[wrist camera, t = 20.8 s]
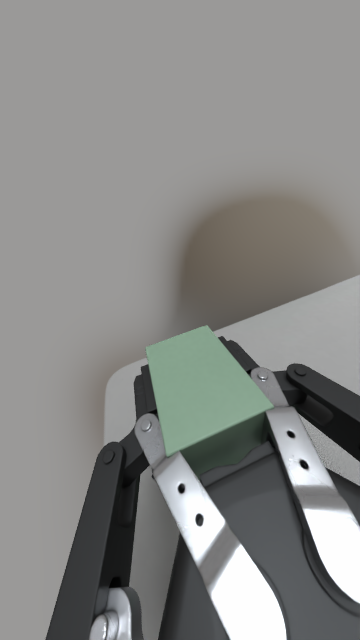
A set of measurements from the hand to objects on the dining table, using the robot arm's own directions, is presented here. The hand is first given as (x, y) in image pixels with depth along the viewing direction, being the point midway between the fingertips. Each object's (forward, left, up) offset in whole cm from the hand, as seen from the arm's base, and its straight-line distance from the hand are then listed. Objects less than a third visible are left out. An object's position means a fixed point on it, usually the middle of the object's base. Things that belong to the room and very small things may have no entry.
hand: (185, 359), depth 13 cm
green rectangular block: (-2, -2, -8) cm, 9 cm away
